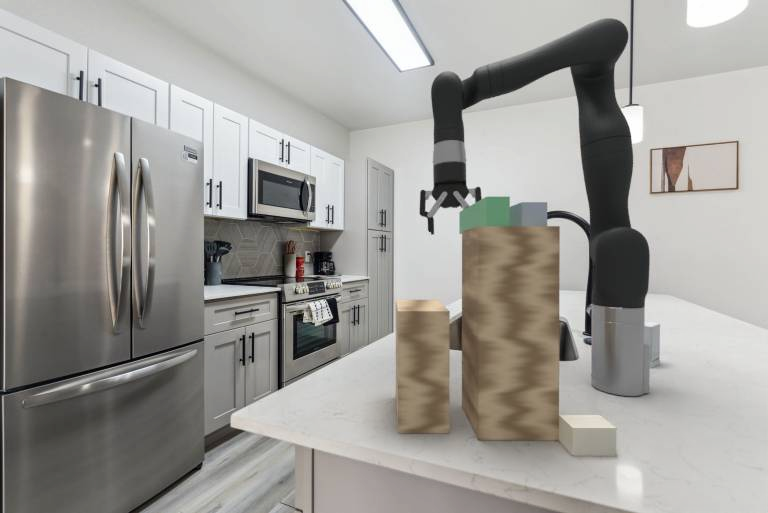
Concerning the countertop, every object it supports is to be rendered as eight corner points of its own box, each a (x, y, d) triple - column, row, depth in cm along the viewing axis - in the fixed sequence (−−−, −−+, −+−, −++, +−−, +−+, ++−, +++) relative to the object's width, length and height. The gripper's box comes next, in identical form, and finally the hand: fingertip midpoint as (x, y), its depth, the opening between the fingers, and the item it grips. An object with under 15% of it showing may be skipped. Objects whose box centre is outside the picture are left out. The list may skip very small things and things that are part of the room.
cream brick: (599, 441, 54) (599, 415, 54) (616, 456, 50) (616, 428, 50) (558, 441, 54) (559, 414, 54) (572, 456, 50) (572, 427, 50)
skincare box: (604, 358, 96) (604, 319, 96) (614, 354, 100) (615, 317, 100) (651, 369, 87) (651, 325, 87) (660, 364, 91) (660, 322, 91)
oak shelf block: (527, 406, 66) (528, 231, 66) (558, 440, 54) (559, 226, 54) (461, 406, 66) (462, 231, 66) (478, 440, 54) (478, 226, 54)
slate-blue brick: (531, 230, 63) (531, 207, 63) (547, 227, 57) (547, 202, 57) (508, 230, 63) (508, 207, 63) (521, 227, 57) (521, 202, 57)
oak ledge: (436, 397, 70) (436, 299, 70) (449, 433, 56) (449, 311, 56) (395, 397, 70) (395, 299, 70) (397, 433, 56) (397, 311, 56)
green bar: (476, 233, 74) (476, 212, 74) (509, 226, 54) (509, 196, 54) (459, 233, 74) (459, 212, 74) (486, 226, 54) (486, 196, 54)
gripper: (479, 166, 86) (480, 233, 86) (419, 169, 89) (421, 235, 89) (482, 157, 79) (484, 231, 79) (417, 162, 81) (419, 233, 81)
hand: (450, 233), depth 84 cm, fingers open, 8 cm apart
